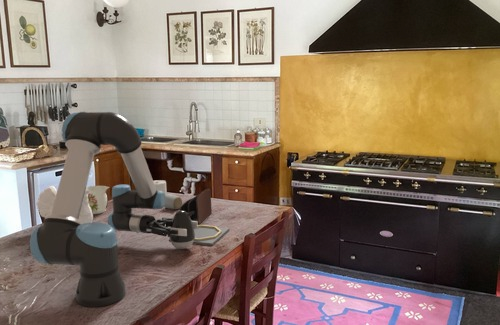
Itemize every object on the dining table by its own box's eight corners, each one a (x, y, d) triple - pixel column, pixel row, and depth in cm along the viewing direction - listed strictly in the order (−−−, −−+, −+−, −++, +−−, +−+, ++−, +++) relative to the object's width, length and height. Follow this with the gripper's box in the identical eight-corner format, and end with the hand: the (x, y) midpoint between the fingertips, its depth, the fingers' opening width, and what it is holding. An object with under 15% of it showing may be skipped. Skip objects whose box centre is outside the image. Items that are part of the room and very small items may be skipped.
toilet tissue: (169, 199, 259) (168, 182, 258) (149, 202, 253) (148, 185, 252) (163, 195, 268) (162, 179, 267) (143, 198, 263) (142, 181, 261)
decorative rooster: (101, 227, 212) (97, 176, 207) (78, 238, 197) (73, 183, 193) (58, 222, 220) (53, 172, 215) (33, 233, 205) (27, 179, 201)
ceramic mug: (174, 211, 237) (174, 197, 235) (162, 209, 240) (162, 195, 239) (186, 206, 246) (186, 193, 244) (175, 204, 250) (174, 191, 248)
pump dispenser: (198, 248, 181) (197, 212, 178) (173, 252, 177) (171, 215, 174) (192, 240, 190) (191, 205, 188) (167, 244, 186) (166, 208, 184)
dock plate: (212, 245, 187) (212, 241, 187) (169, 240, 194) (169, 236, 193) (229, 230, 206) (229, 226, 206) (189, 226, 212) (189, 222, 212)
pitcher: (85, 208, 244) (82, 183, 241) (116, 209, 240) (114, 184, 238) (73, 214, 233) (71, 188, 230) (106, 216, 230) (104, 189, 227)
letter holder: (211, 213, 233) (211, 186, 231) (198, 225, 214) (197, 196, 212) (193, 212, 235) (192, 185, 233) (179, 224, 216) (178, 195, 214)
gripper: (157, 224, 199) (203, 229, 192) (128, 241, 178) (179, 247, 171) (156, 208, 198) (203, 212, 191) (127, 222, 177) (178, 228, 170)
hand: (192, 228), depth 181 cm, fingers closed on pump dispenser, 9 cm apart
